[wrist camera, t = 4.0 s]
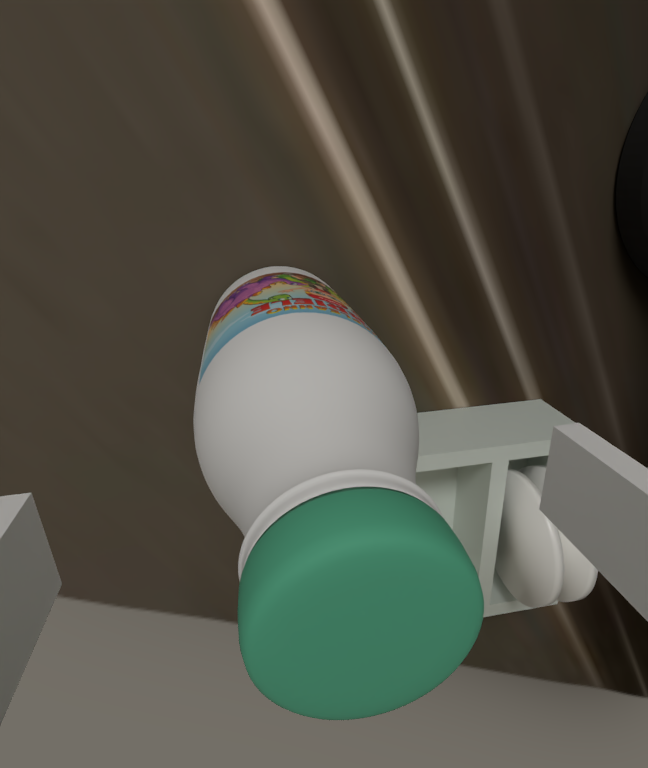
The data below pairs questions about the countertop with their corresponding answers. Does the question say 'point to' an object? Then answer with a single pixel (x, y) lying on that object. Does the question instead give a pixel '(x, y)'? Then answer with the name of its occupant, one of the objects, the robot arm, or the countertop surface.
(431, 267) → the countertop surface
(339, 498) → the milk bottle
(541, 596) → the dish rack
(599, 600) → the countertop surface
